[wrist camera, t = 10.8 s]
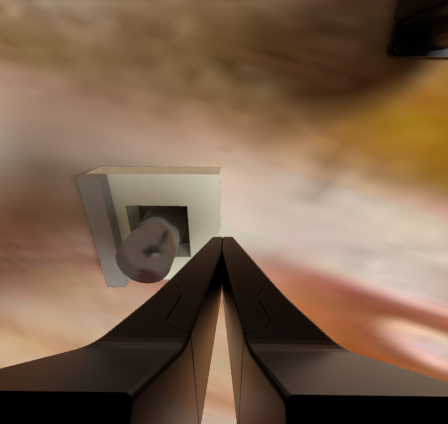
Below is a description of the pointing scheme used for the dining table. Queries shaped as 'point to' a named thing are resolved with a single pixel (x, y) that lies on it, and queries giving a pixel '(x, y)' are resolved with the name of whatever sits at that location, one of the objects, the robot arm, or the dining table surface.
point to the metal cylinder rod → (152, 244)
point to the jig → (148, 196)
